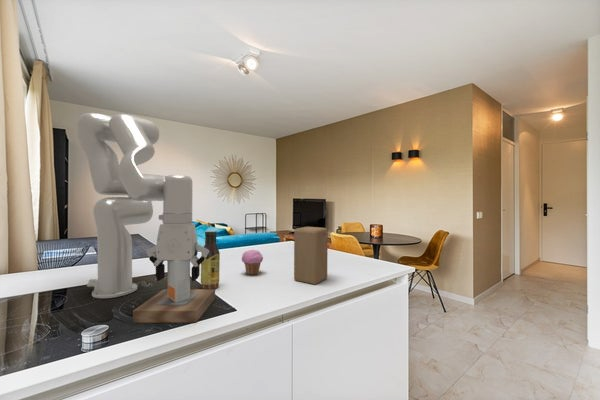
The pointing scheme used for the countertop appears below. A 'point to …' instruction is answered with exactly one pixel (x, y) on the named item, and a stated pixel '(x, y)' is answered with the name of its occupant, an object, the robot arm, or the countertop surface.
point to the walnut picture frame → (174, 308)
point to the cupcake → (252, 261)
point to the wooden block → (310, 254)
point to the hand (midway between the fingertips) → (177, 279)
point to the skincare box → (178, 280)
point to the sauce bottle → (210, 262)
